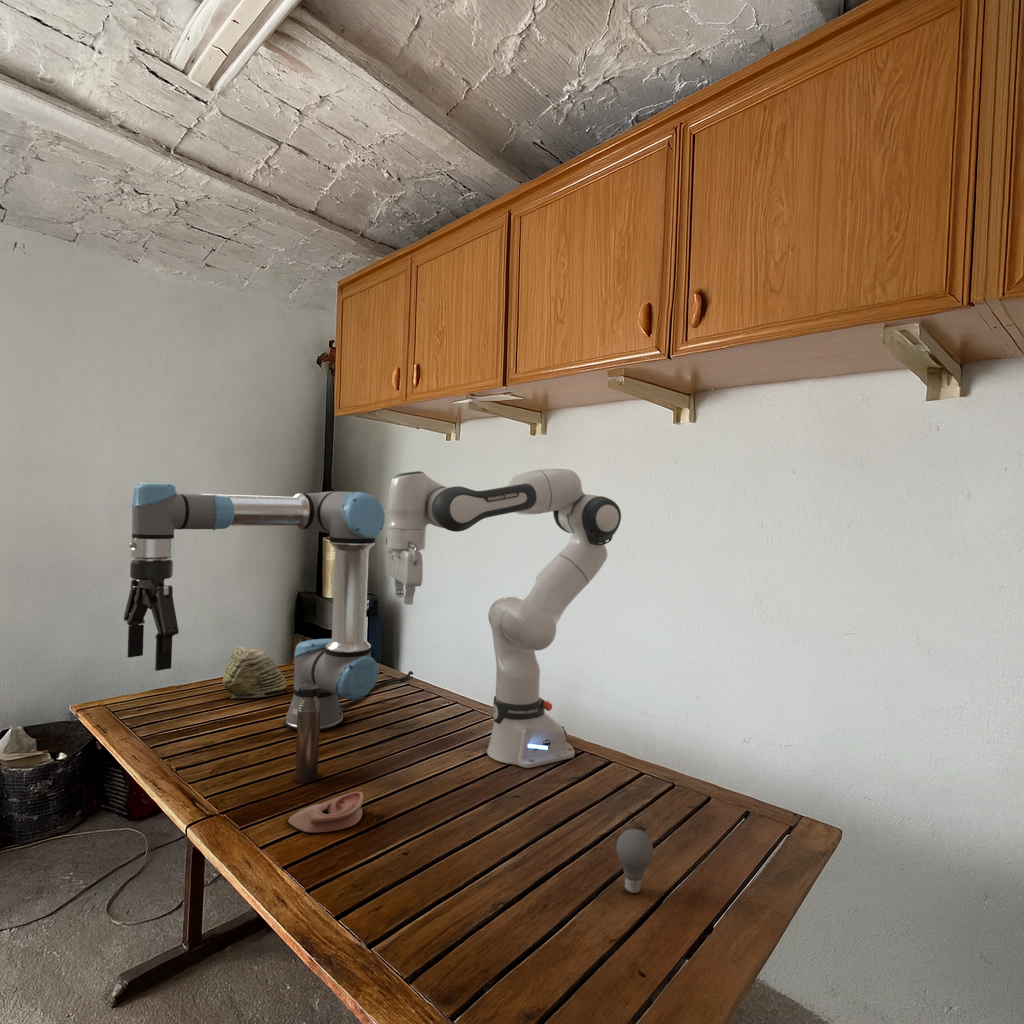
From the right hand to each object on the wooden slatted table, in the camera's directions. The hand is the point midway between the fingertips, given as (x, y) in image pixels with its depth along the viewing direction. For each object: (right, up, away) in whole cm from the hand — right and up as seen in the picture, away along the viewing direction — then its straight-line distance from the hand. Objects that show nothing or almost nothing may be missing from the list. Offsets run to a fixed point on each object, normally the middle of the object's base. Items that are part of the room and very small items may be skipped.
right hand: (403, 600), depth 147 cm
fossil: (-55, -37, +51) cm, 84 cm away
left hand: (-49, -10, -18) cm, 53 cm away
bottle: (-21, -39, -5) cm, 45 cm away
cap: (-20, -19, -5) cm, 28 cm away
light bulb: (+45, -43, -41) cm, 75 cm away
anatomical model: (-11, -40, -22) cm, 47 cm away
